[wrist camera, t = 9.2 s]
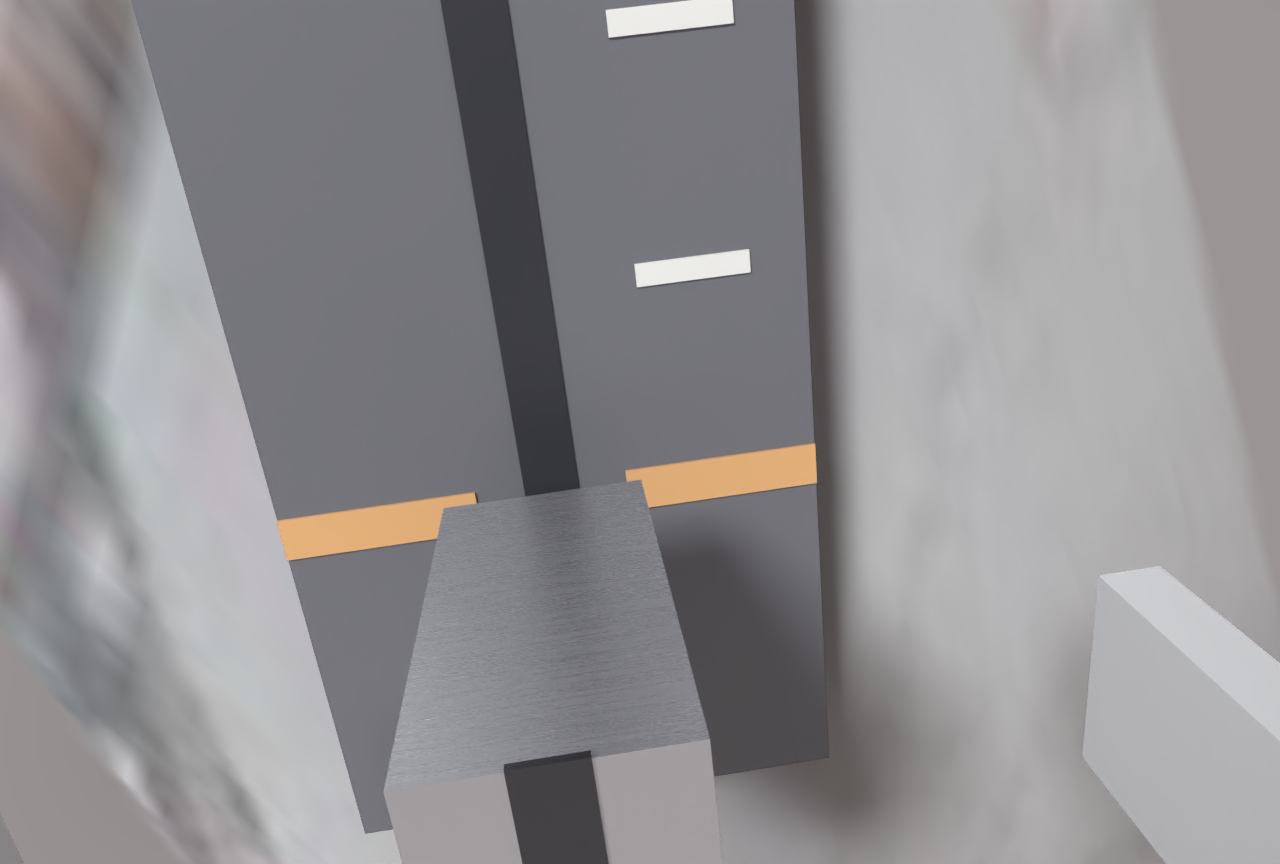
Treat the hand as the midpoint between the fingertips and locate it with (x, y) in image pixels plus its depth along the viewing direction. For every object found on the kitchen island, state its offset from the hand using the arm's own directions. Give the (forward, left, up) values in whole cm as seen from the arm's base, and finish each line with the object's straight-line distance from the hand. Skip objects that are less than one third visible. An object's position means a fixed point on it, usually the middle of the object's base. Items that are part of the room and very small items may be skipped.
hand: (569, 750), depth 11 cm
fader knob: (0, 0, -6) cm, 6 cm away
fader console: (-4, 0, -9) cm, 10 cm away
